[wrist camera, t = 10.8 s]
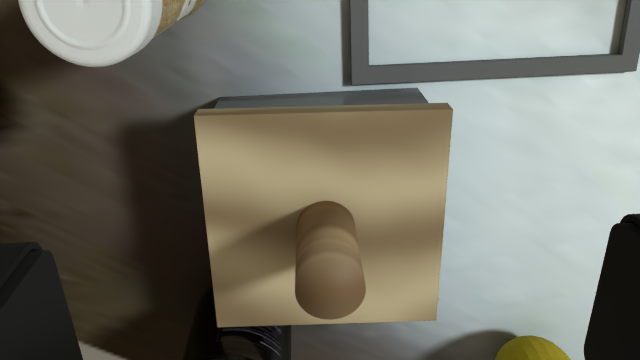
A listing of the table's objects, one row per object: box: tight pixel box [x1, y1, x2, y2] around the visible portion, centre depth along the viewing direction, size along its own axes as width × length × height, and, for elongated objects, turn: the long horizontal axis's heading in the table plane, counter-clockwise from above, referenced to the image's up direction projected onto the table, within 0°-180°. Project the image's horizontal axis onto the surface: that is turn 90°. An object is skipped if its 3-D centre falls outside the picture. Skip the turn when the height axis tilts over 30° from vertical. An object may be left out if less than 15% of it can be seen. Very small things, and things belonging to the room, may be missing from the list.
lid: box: [194, 103, 453, 327], centre depth 29 cm, size 13×13×7 cm
